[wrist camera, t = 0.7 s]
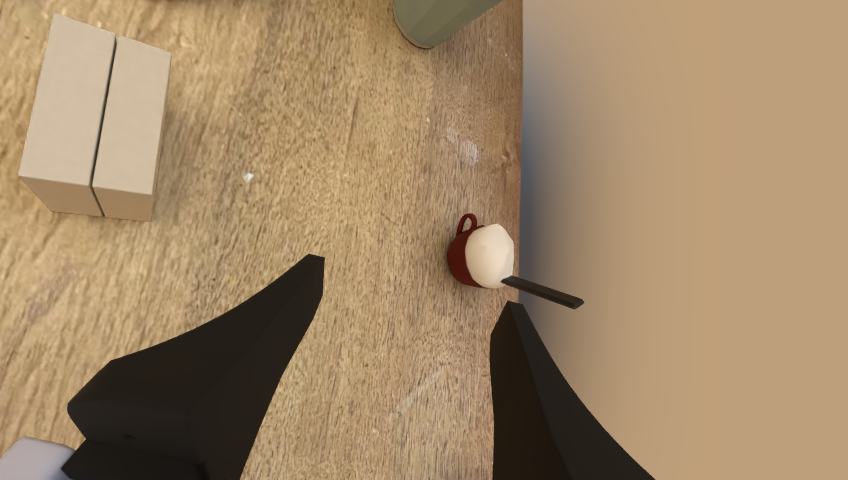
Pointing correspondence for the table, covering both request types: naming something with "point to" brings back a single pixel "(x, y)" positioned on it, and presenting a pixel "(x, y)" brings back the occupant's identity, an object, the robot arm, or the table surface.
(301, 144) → the table surface
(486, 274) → the ice cream bowl
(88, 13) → the table surface
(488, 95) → the table surface
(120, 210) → the beige split block
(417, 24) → the disposable coffee cup
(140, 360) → the robot arm
